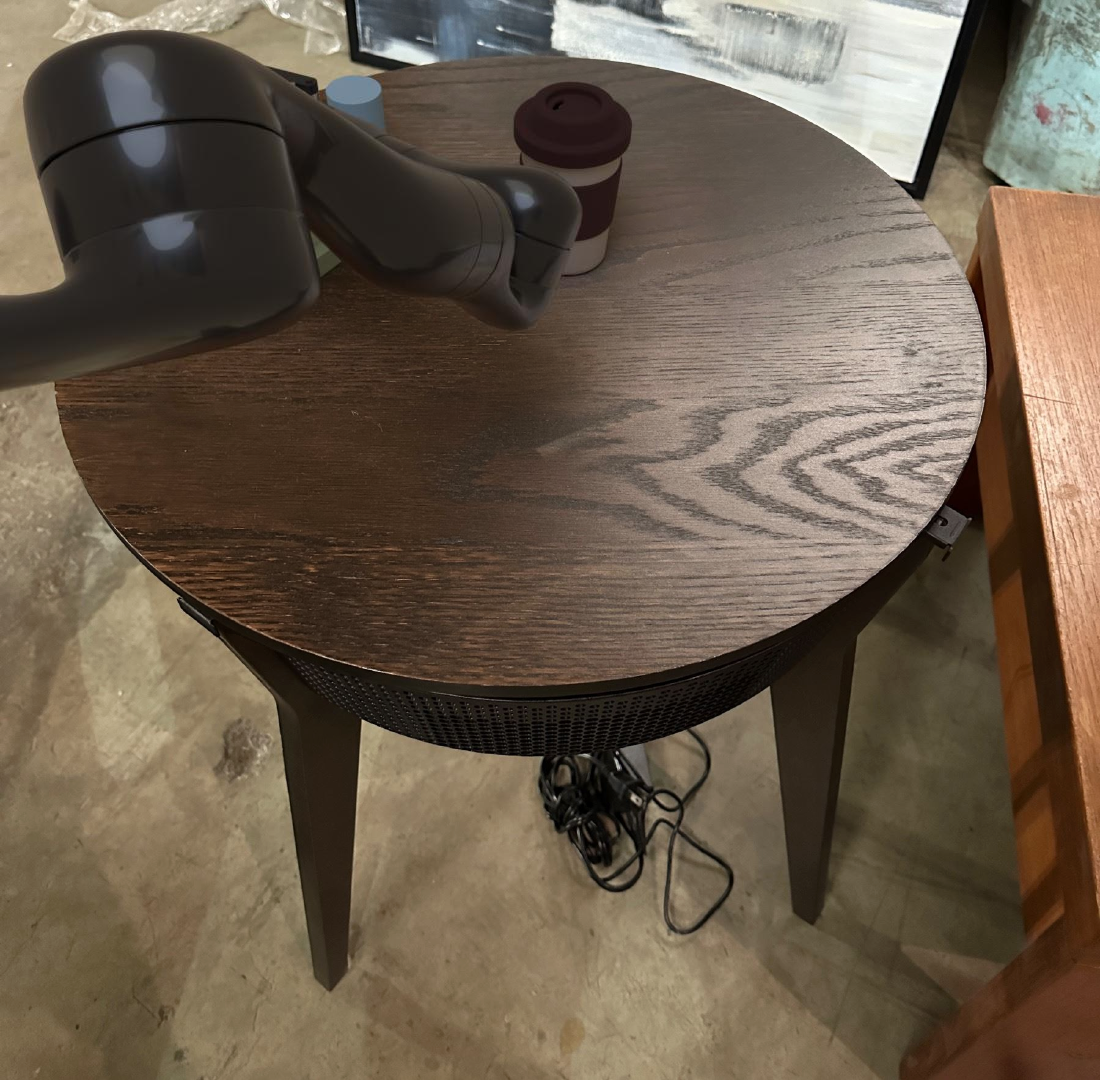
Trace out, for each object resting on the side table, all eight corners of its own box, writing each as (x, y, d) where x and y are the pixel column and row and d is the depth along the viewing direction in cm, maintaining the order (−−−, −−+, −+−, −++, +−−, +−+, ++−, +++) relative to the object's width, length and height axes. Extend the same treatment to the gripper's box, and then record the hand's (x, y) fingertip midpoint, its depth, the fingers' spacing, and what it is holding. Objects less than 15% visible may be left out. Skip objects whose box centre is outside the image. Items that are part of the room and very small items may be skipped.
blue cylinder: (341, 203, 99) (327, 105, 91) (338, 174, 102) (324, 76, 94) (394, 199, 100) (383, 101, 92) (389, 170, 103) (378, 73, 95)
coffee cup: (639, 266, 95) (657, 115, 84) (547, 299, 92) (552, 147, 80) (583, 210, 101) (592, 60, 89) (494, 239, 97) (491, 88, 85)
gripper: (387, 72, 74) (219, 5, 80) (244, 162, 67) (69, 81, 72) (397, 166, 80) (240, 97, 86) (266, 258, 73) (103, 176, 78)
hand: (162, 90), depth 79 cm, fingers closed on supplement bottle, 5 cm apart
